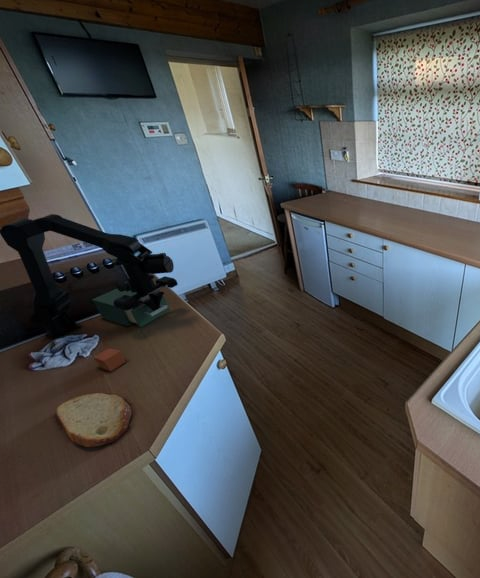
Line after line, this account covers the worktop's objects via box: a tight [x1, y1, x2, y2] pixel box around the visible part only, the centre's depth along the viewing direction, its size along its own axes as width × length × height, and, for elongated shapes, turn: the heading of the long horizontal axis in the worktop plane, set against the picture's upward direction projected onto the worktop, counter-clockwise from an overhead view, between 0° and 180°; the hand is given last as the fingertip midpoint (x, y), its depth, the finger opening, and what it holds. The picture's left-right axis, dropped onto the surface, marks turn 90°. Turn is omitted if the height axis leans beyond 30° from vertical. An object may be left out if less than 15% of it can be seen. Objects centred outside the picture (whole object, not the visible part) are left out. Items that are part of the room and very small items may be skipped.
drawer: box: [122, 294, 171, 328], centre depth 109 cm, size 17×11×7 cm
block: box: [93, 347, 127, 372], centre depth 89 cm, size 4×4×4 cm
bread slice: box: [56, 392, 132, 448], centre depth 72 cm, size 18×18×4 cm
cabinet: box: [91, 288, 137, 327], centre depth 111 cm, size 14×13×9 cm
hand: (156, 311), depth 107 cm, fingers closed, pressing on drawer
